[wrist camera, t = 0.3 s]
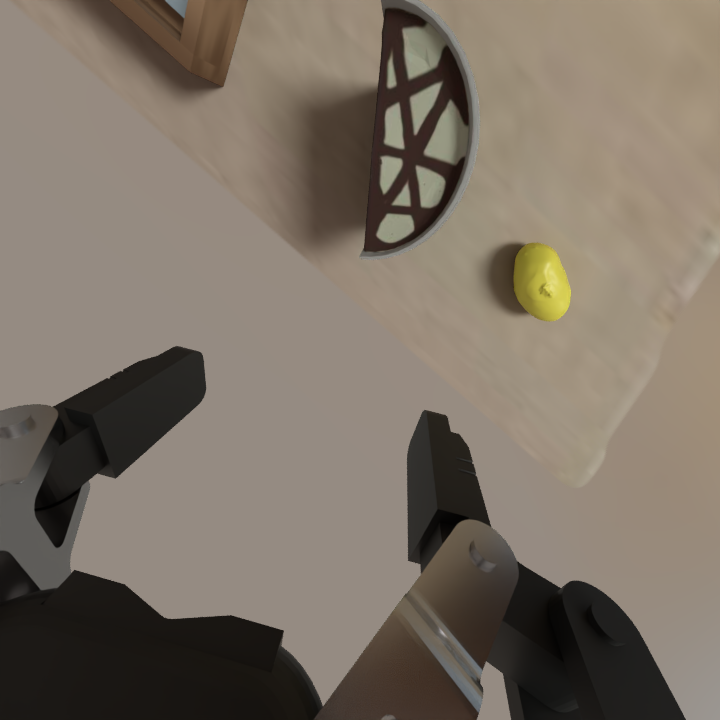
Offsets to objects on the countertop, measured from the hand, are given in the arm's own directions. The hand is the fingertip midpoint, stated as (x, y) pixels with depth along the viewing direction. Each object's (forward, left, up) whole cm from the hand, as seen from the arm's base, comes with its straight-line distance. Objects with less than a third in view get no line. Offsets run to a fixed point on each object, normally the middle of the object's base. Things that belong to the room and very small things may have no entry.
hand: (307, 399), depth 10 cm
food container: (-8, -2, -22) cm, 24 cm away
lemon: (-8, +13, -22) cm, 27 cm away
